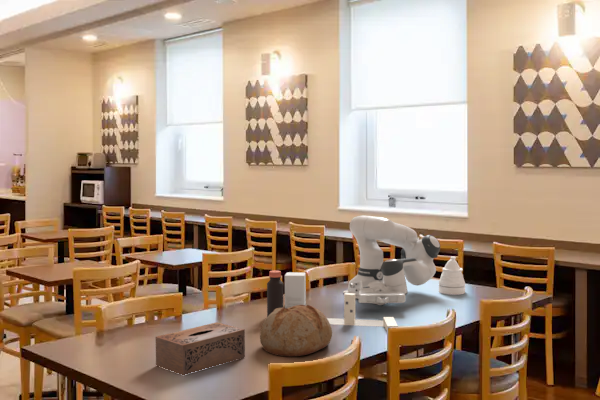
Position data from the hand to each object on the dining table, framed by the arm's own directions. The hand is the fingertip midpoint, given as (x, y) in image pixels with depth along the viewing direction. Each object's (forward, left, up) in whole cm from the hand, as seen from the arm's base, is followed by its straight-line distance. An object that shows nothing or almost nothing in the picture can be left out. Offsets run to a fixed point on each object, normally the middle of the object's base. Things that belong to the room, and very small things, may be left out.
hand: (383, 301), depth 281 cm
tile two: (0, -19, -7) cm, 20 cm away
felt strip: (-1, -17, -7) cm, 19 cm away
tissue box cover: (+10, -90, -7) cm, 91 cm away
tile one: (+11, -8, -5) cm, 14 cm away
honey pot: (-20, +64, -7) cm, 67 cm away
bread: (+15, -55, -7) cm, 57 cm away
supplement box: (-39, -18, -7) cm, 44 cm away
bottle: (-25, -38, -7) cm, 46 cm away
